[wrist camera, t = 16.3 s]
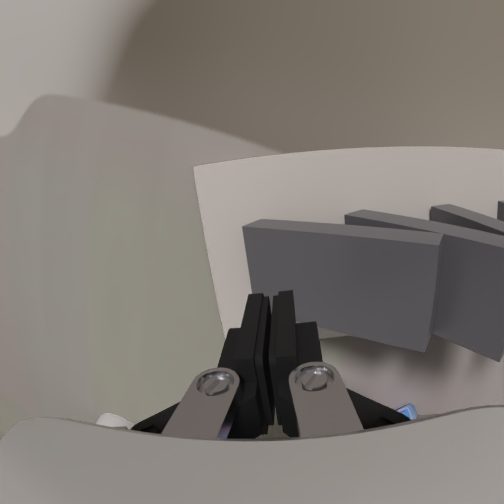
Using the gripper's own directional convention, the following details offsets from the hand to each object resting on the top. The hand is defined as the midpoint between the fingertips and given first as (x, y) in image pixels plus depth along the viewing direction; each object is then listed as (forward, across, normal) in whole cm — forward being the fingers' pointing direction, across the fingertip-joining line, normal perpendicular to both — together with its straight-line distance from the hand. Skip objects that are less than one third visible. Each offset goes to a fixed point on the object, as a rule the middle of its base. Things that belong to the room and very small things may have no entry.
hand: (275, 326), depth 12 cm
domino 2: (+7, -4, 0) cm, 8 cm away
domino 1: (+7, +1, 0) cm, 7 cm away
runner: (+8, -13, 0) cm, 15 cm away
